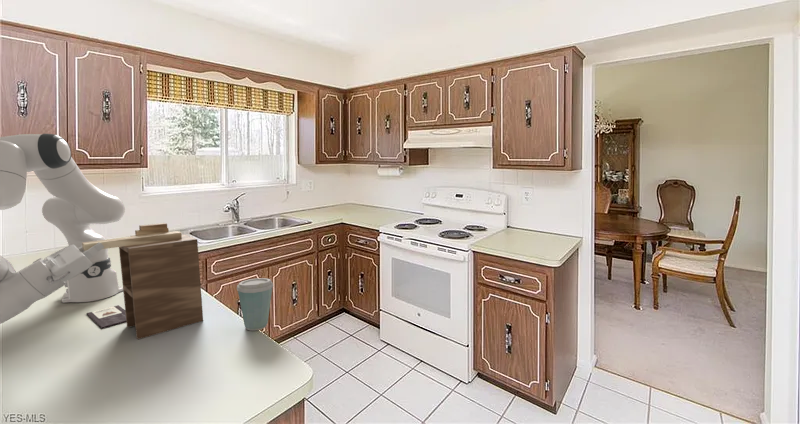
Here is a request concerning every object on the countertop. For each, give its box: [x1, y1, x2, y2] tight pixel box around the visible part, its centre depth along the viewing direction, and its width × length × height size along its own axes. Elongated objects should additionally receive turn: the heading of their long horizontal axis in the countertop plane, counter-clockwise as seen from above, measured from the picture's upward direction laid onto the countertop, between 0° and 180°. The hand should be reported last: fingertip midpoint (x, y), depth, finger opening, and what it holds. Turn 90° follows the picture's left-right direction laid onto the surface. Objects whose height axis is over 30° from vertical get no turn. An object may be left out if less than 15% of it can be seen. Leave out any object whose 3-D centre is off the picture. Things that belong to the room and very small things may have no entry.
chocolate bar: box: [86, 305, 127, 330], centre depth 126 cm, size 9×1×18 cm
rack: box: [118, 222, 204, 340], centre depth 119 cm, size 13×18×32 cm
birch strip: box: [82, 230, 182, 251], centre depth 113 cm, size 4×24×2 cm, turn 137°
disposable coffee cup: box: [236, 277, 274, 331], centre depth 118 cm, size 11×11×15 cm
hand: (100, 243), depth 107 cm, fingers closed on birch strip, 3 cm apart
